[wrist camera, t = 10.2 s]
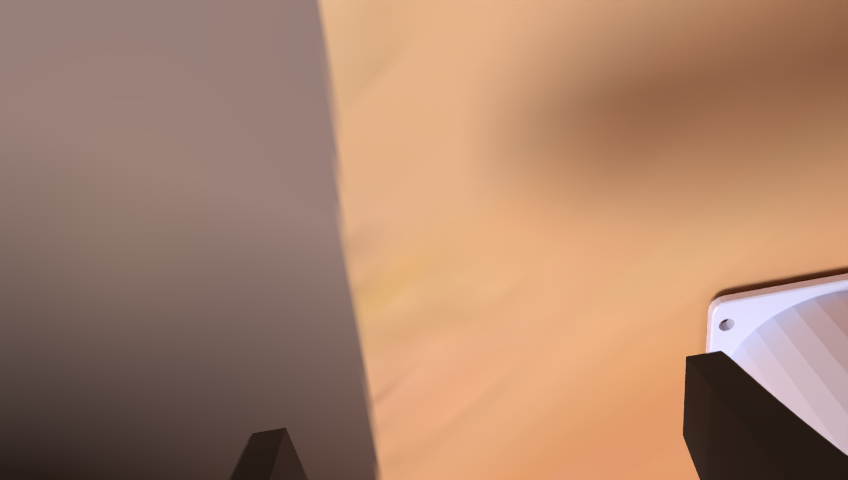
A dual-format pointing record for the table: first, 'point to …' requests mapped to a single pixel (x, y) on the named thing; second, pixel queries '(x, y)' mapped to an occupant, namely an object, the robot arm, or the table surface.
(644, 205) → the table surface
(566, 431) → the table surface
